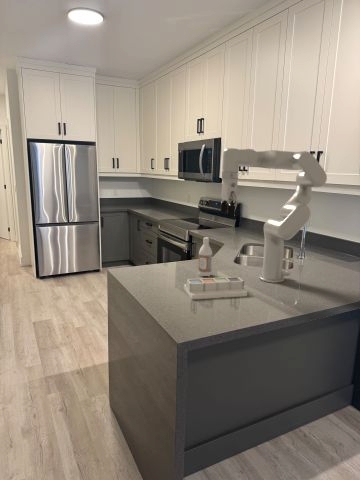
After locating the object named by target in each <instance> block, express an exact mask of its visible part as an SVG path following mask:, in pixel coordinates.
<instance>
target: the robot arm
mask: <svg viewBox="0 0 360 480" xmlns="http://www.w3.org/2000/svg"><path fill="white" fill-rule="evenodd" d="M240 167H246V168H247V167H248V168H262V169H273V170H286V171H287V170H288V171H299V172H298V173H297V174H296V177H295V182H296V183H295V185H296V189H295V192H294V193H293V194H292V196H291V197H290V198H289V199H288V200H287V201H286V202H285V203H284V204H283V205H282V207H281V208H280V210H279V215H280V217H275V216H274V217H270V218H268V219H266V220H265V222H264V224H263V234H264V235H263V236H264V244H263V245H264V247H263V258H262V259H263V261H262V272H261V273H260V274H259V275H258V279H259V278H260V279H259V280H261V281H263V282H265V283H266V282H267V283H274V284H275V283H276V284H277V283H283V282H284V281H285V277H286V276H287V277H288V276H291V272H290V271H285V270H283V263H284V262H283V261H284V250H285V249H284V248H285V241H288V240H291V239H293V238H294V236H296V235H297V234H298V232H299V231H300V230H301V229H302V228H303V227H304V226H305V225H306V224H307V222H308V221H309V219H310V217H311V209H310V207H309V204H310V202H311V200H312V196H313V194H312V193H313V192H312V188H321V187H323V186H324V185H325V184H326V182H327V180H328V177H327V176H328V175H327V173H326V170H325V169H324V168H323V167H322V165H321V163H319V161H318V160H317V158H316V157H315V156H314V155H313V154H312V153H311V152H309V151H307V150H304V151H285V150H273V149H271V150H262V151H258V150H257V151H256V150H255V149H252V148H245V149H243V148H241V149H239V148H233V147H230V148H229V147H227V148H225V149H224V150H223V153H222V166H221V180H222V184H221V193H220V200H221V202H220V212H221V213H227V215H235V210H236V203H237V201H238V192H239V191H238V188H239V186H238V184H239V183H238V180H239V171H240Z"/></svg>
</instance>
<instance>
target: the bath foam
mask: <svg viewBox="0 0 360 480" xmlns="http://www.w3.org/2000/svg"><path fill="white" fill-rule="evenodd" d="M202 243H203V244H202V245H201V247H200V249H199V251H198V269H197V270H198V276H200V277H203V276H208V277H211V276H212V274H213V273H212V272H213V250H212V248H211V246H210V238H209V237H207V236H206V237H203V239H202ZM210 275H211V276H210Z"/></svg>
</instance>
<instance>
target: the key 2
mask: <svg viewBox="0 0 360 480" xmlns="http://www.w3.org/2000/svg"><path fill="white" fill-rule="evenodd" d="M215 280H216V281H217V282H227V281H226V280H225V279H215Z"/></svg>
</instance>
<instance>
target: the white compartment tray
mask: <svg viewBox="0 0 360 480" xmlns="http://www.w3.org/2000/svg"><path fill="white" fill-rule="evenodd" d="M235 278H237V279H238V280H239V281H230V280H229V279H235ZM215 279H225V280H226V281H227V282H217V281H216V280H215ZM195 280H199V281H200V282H201V283H191V282H190V281H195ZM203 280H213V281H214V282H209V283H205V282H204V281H203ZM183 289H184V291H186V293H187V295H188V297H189V298H190V299H191V300H206V299H221V297H222V298H223V297H224V298H235V297H237V298H238V297H247V296H248V291H247V290H246V289H245V281H244V280H243V279H242V278H241V277H239V276H228V277H225V276H224V277H204V278H201V277H200V278H187V279H186V283H184V284H183ZM224 298H223V299H224Z"/></svg>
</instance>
